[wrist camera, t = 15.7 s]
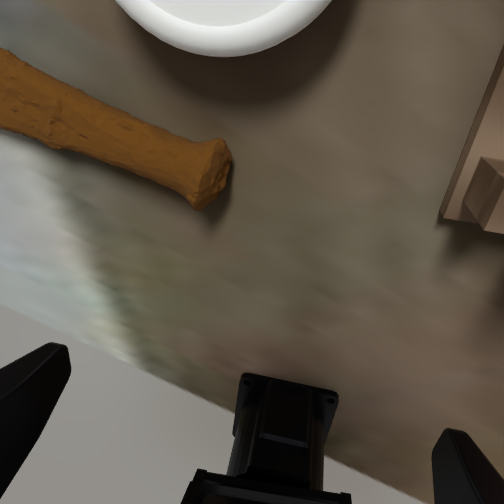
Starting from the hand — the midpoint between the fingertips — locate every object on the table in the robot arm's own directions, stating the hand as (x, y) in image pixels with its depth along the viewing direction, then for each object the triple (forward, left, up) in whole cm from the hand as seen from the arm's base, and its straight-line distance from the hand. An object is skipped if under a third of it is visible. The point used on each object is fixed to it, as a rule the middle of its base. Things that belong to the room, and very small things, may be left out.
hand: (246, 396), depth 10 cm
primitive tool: (+2, +13, -13) cm, 19 cm away
